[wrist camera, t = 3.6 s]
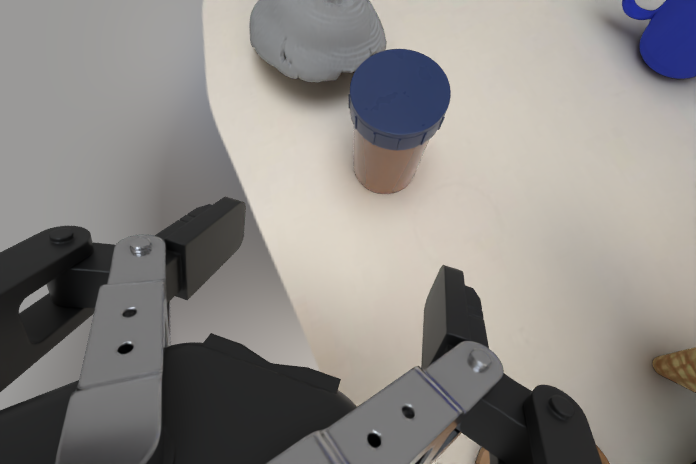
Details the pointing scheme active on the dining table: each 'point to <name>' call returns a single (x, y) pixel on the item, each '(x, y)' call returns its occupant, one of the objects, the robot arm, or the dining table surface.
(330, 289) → the dining table surface
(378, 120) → the lid
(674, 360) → the ice cream cone
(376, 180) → the jar
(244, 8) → the dining table surface
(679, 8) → the mug
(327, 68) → the grey clay mound
